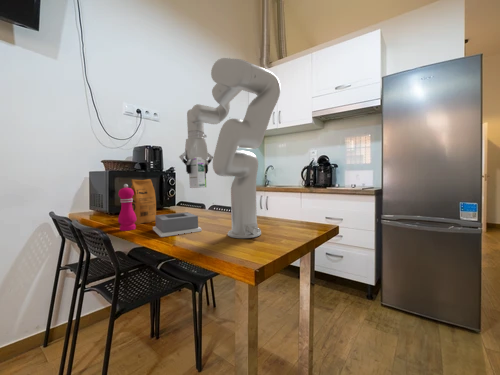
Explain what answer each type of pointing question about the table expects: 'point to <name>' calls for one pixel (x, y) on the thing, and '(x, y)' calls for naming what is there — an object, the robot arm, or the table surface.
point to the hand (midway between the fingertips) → (197, 173)
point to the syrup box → (197, 173)
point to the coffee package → (143, 201)
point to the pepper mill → (126, 209)
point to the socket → (176, 224)
